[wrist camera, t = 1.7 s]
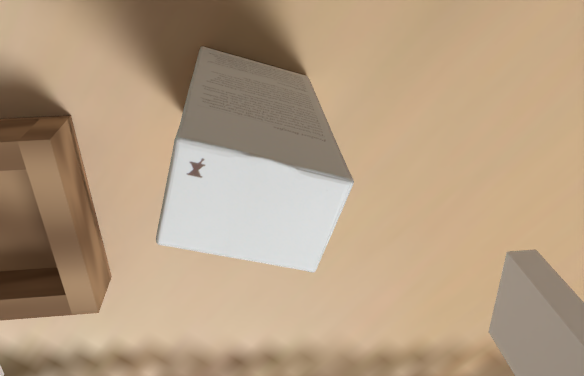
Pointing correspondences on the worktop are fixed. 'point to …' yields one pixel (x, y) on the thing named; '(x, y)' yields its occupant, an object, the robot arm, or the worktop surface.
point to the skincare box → (253, 166)
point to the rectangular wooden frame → (47, 223)
